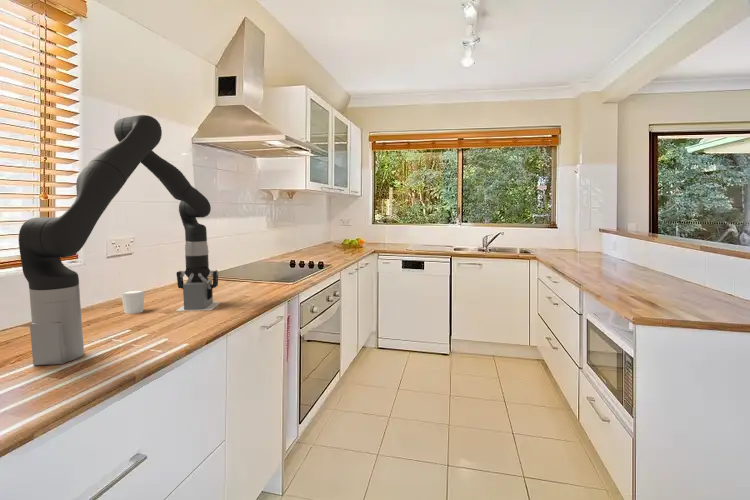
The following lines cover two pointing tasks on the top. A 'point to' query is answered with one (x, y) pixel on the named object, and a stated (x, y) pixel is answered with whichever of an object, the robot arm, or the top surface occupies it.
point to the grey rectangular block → (196, 295)
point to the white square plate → (201, 309)
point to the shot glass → (133, 301)
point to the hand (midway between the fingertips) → (198, 299)
